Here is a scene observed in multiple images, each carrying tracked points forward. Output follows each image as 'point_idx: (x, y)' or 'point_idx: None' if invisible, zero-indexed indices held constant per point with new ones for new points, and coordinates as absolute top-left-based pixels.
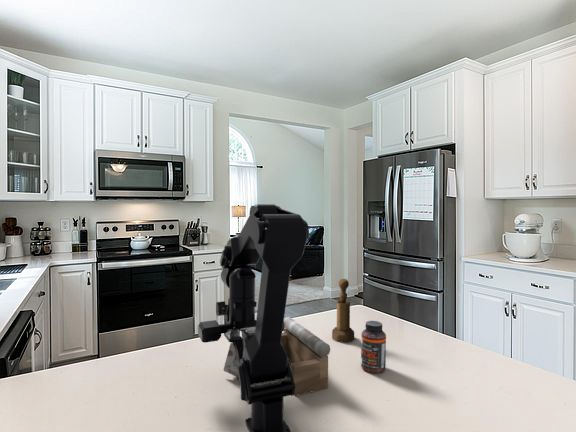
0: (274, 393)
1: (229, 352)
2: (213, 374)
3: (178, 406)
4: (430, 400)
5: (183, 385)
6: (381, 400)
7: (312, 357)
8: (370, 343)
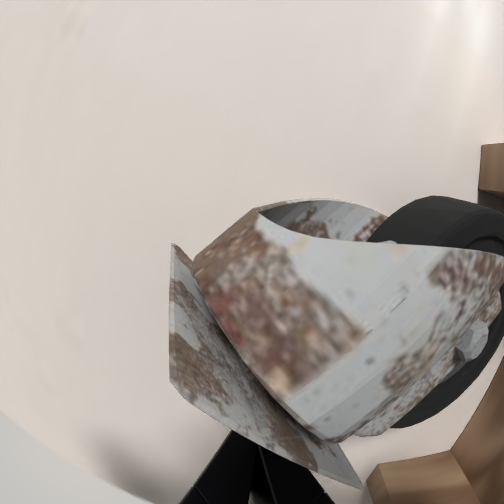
0: None
1: (182, 318)
2: (138, 176)
3: (7, 360)
4: None
5: (7, 227)
6: None
7: (497, 490)
8: None
